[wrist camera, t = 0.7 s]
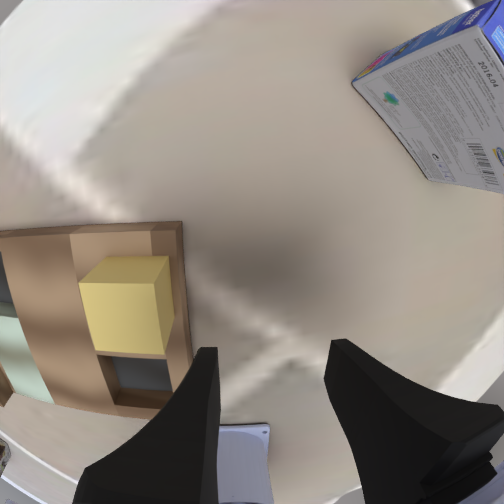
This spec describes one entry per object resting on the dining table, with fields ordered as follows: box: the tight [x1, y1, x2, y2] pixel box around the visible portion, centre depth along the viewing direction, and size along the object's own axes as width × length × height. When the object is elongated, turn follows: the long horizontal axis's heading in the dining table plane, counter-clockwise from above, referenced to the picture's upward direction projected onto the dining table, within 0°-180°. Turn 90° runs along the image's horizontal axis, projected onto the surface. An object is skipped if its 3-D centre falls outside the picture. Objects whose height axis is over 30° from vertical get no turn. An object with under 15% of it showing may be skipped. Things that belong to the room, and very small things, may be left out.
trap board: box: [0, 221, 193, 419], centre depth 17 cm, size 16×21×5 cm
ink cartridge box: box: [352, 0, 504, 194], centre depth 11 cm, size 10×6×14 cm, turn 48°
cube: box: [79, 256, 175, 355], centre depth 15 cm, size 4×4×4 cm
